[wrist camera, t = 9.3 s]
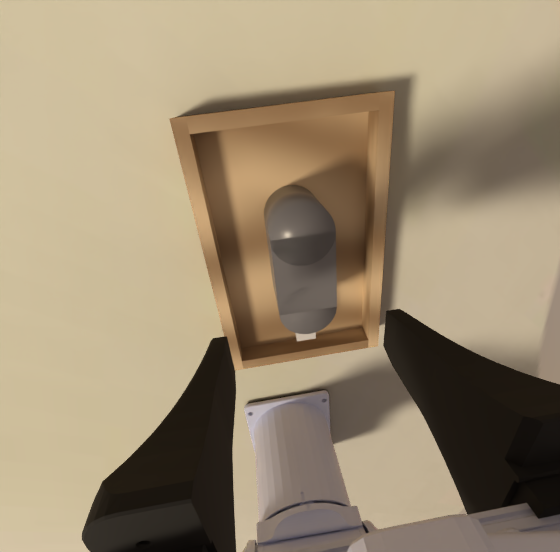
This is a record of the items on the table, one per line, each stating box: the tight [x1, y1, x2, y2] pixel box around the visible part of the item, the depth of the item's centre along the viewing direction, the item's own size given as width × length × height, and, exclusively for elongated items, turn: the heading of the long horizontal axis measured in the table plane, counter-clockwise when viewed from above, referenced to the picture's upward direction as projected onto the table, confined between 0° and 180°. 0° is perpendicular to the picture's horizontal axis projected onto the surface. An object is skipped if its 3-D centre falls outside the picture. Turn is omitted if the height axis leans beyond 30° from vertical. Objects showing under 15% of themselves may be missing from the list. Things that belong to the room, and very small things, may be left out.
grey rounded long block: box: [264, 185, 337, 341], centre depth 20 cm, size 11×4×4 cm, turn 6°
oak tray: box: [170, 91, 395, 370], centre depth 21 cm, size 18×12×2 cm, turn 6°
